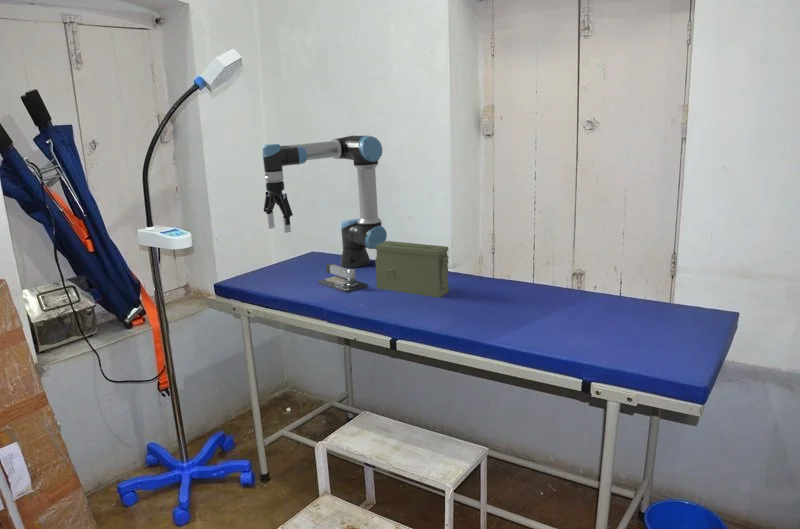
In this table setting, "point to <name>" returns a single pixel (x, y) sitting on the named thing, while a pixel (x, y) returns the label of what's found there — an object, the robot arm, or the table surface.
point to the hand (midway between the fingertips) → (279, 230)
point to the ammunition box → (412, 268)
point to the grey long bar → (341, 272)
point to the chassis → (342, 284)
